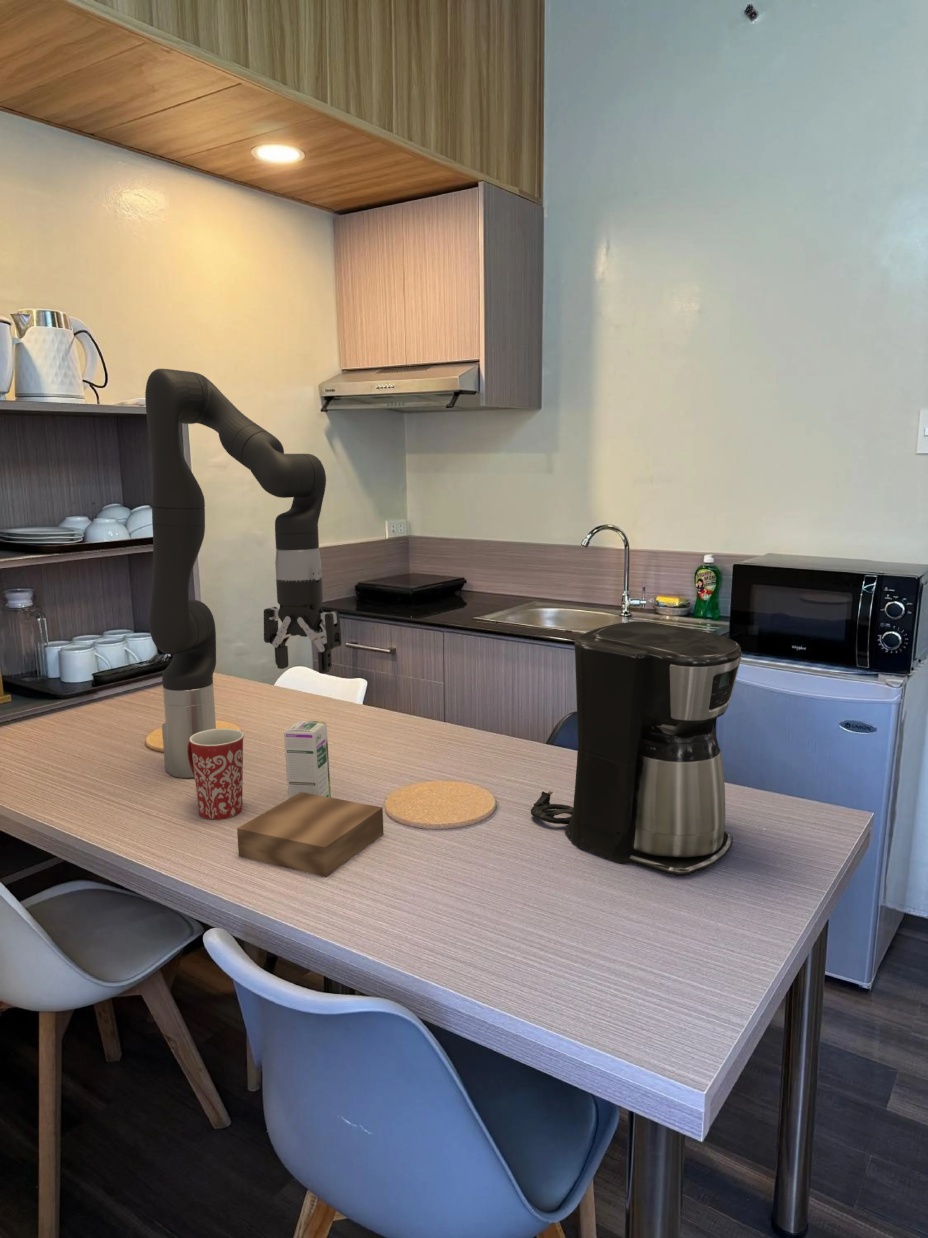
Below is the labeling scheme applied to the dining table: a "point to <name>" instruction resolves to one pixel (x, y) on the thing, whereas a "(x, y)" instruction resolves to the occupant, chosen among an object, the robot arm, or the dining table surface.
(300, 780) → the syrup box
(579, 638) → the coffee maker
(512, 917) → the dining table surface
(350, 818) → the walnut riser
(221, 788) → the mug
